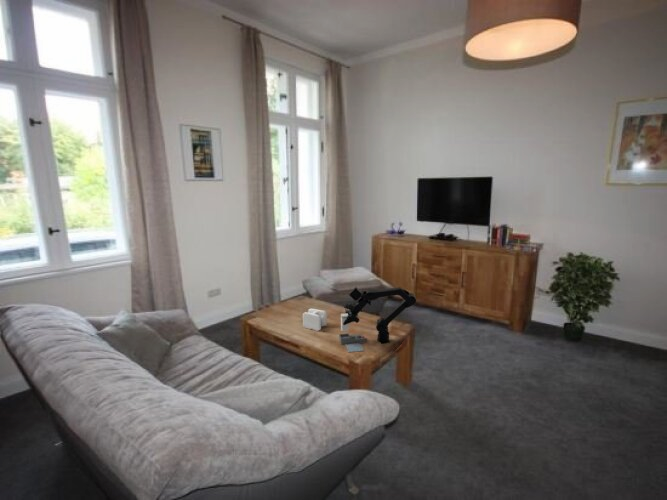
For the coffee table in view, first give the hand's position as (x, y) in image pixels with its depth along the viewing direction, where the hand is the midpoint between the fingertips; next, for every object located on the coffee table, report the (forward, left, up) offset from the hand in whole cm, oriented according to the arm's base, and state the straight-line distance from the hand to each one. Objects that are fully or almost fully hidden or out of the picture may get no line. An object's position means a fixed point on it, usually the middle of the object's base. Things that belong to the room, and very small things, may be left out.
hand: (342, 322), depth 224 cm
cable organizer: (+9, -29, -13) cm, 33 cm away
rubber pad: (-4, +10, -13) cm, 17 cm away
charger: (-1, 0, -5) cm, 5 cm away
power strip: (-6, +1, -13) cm, 15 cm away
